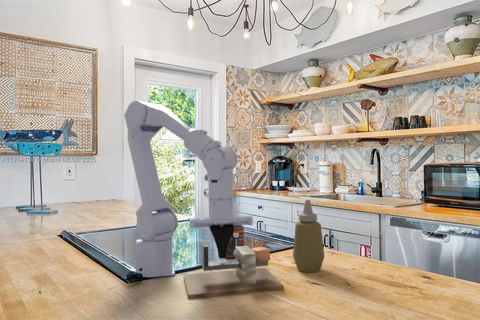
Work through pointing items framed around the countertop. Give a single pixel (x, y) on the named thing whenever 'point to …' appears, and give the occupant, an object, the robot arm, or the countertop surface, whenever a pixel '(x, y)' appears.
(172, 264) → the robot arm
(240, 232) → the supplement bottle
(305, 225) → the squeeze bottle
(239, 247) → the stand
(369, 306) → the countertop surface
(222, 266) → the grey l-shaped bar
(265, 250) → the block
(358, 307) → the countertop surface
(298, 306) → the countertop surface
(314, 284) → the countertop surface
